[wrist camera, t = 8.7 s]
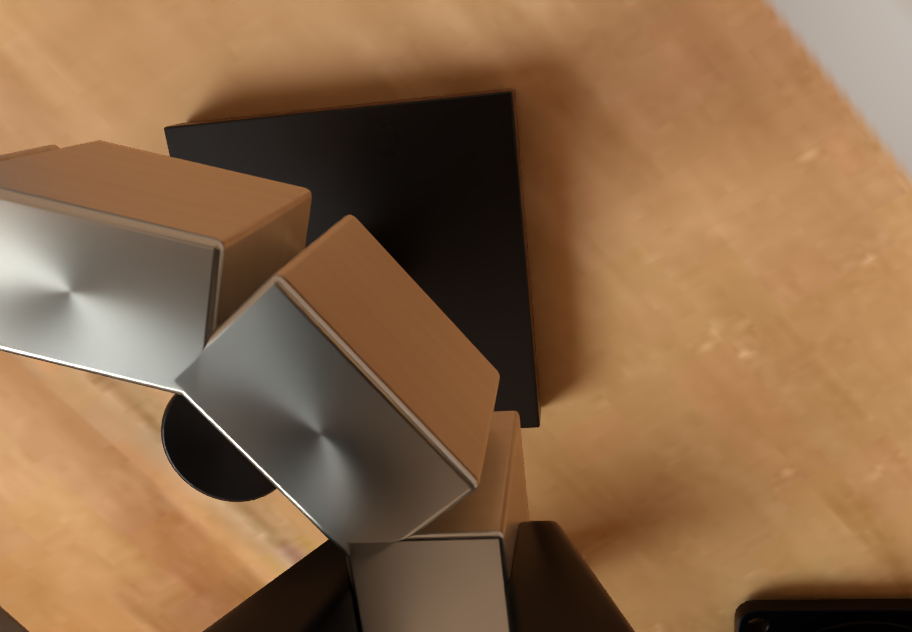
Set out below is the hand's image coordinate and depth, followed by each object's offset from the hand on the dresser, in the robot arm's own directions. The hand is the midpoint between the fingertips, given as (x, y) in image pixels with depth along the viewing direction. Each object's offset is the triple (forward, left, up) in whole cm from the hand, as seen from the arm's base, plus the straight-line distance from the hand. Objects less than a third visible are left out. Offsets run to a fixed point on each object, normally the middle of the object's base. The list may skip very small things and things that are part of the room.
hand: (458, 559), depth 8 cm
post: (+4, 0, -12) cm, 12 cm away
